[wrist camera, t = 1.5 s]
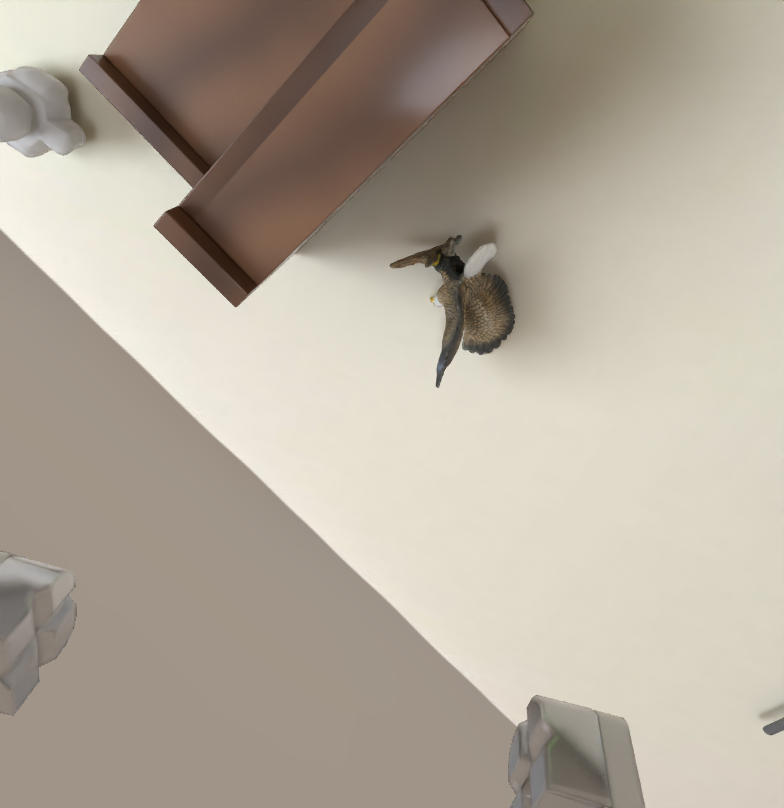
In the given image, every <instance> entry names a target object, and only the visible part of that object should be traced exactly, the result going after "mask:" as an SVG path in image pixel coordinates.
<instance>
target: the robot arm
mask: <svg viewBox="0 0 784 808" xmlns="http://www.w3.org/2000/svg"><path fill="white" fill-rule="evenodd" d="M74 588H75V576H74V572H71V571H68V570H65V569H61V568H58V567H55V566H52V565H48V564H45V563H41V562H38V561H35V560H31V559H28V558H25V557H21V556H17V555H14V554H10V553H7V552H3V551H0V713H3V714H7V715H11V716H14V715H15V713H16V712H17V710H18V709H19V708H20V706H21V705H22V704H23V702H24V701H25V700H26V699H27V697H28V696H29V694H30V693H31V692H32V691H33V689H34V688H35V687H36V685H37V684H38V682H39V667H41V666H43V665H45V664H47V663H49V662H51V661H53V660H55V659H56V658H57V657H58V655H59V654H60V653H61V651H62V650H63V648H64V647H65V646H66V644H67V642H68V640H69V637H70V635H71V633H72V631H73V629H74V625H75V621H76V616H77V607H76V603H75V602H74V601H73V600H72V598H71V597H70V596H69V594H70V593H71V591H72V590H73V589H74ZM508 781H509V783H510V785H511V787H512V789H513V790H514V792H515V794H516V797H515V799H514V801H513V802H512V804H511V806H510V808H645V803H644V798H643V793H642V789H641V784H640V779H639V774H638V769H637V765H636V760H635V755H634V750H633V746H632V741H631V736H630V731H629V727H628V724H627V722H626V721H625V719H624V718H622V717H618V716H614V715H610V714H607V713H603V712H599V711H596V710H592V709H590V708H587V707H583V706H579V705H575V704H571V703H567V702H563V701H559V700H555V699H551V698H547V697H543V696H539V695H535V696H534V697H533V698H532V699H531V701H530V703H529V705H528V707H527V720H526V721H524V722H522V723H519V724H518V727H517V729H516V731H515V733H514V736H513V739H512V744H511V748H510V753H509V764H508Z"/></svg>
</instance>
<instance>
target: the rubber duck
mask: <svg viewBox="0 0 784 808" xmlns="http://www.w3.org/2000/svg"><path fill="white" fill-rule="evenodd" d="M85 141H86V136H85V133H84V131H83V129H82V128H81V127H80V126H79V125H78V124H77V123H75V122H74V121H72V120H71V108H70V104H69V102H68V90H67V88H66V86H65V85H64V84H63V83H62V82H61V81H59V80H58V79H56V78H55V77H54V76H52V75H51V74H49V73H48V72H46V71H44V70H42V69H39V68H34V67H19V68H17V69H15V70H8V71H4V72H0V142H6V143H7V144H8V145H10V146H11V147H13V148H14V149H16V150H17V151H19V152H20V153H22V154H23V155H25V156H27V157H36V156H40V155H43V154H45V153H47V152H48V151H50V150H54V151H55V152H57V153H58V154H60V155H67V154H69V153H70V152H72V151H73V149H75V148H80V147H83V146H84V144H85Z"/></svg>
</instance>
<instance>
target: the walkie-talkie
mask: <svg viewBox="0 0 784 808" xmlns="http://www.w3.org/2000/svg"><path fill="white" fill-rule="evenodd" d="M763 730H764V732H765V733H766V734H768V735H773V734H776V733H778V732H780V731H783V730H784V718H782V719H780V720H778V721H775V722H773V723H771V724H769V725H767V726H764V727H763Z"/></svg>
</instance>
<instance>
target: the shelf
mask: <svg viewBox="0 0 784 808" xmlns="http://www.w3.org/2000/svg"><path fill="white" fill-rule="evenodd" d="M533 14H534V13H533V11H532V10H531V8H530V7H529V5H528V4H527V3H526V1H525V0H140V2H139V3H138V5H137V6H136V8H135V9H134V11H133V12H132V13H131V15H130V16H129V18H128V19H127V21H126V22H125V24H124V25H123V27H122V28H121V29H120V31H119V32H118V34H117V35H116V37H115V38H114V40H113V41H112V43H111V44H110V46H109V47H108V48H107V50H106V51H105V53H104V55H88V57H87V58H86V60H85V61H84V63H83V64H82V66H81V67H80V69H79V71H80V72H81V73H82V74H83V75H84V76H85V77H86V78H87V79H88V80H89V81H90V82H91V83H92V84H93V85H94V86H95V87H96V88H97V89H98V90H99V91H100V92H101V93H102V95H103V96H104V97H105V98H106V99H107V100H108V101H109V102H110V103H111V104H112V105H113V106H114V107H115V108H116V109H117V110H118V111H119V112H120V113H121V114H122V115H123V116H124V117H125V118H126V119H127V120H128V121H129V122H130V123H131V124H132V126H133V127H134V128H135V129H136V130H137V131H138V132H139V133H140V134H141V135H142V136H143V137H144V138H145V139H146V140H147V141H148V142H149V143H150V144H151V145H152V146H153V147H154V148H155V149H156V150H157V151H158V152H159V153H160V154H161V155H162V157H163V158H164V159H165V160H166V161H167V162H168V163H169V164H170V165H171V166H172V167H173V168H174V169H175V170H176V171H177V172H178V173H179V174H180V175H181V176H182V177H183V178H184V179H185V180H186V181H187V182H188V183H189V184H190V185H191V186H192V188H193V189H192V190H191V191H190V192H189V194H188V195H187V196H186V197H185V198H184V199H183V201H182V202H181V203H180V204H179V206H177V207H175V208H172V209H170V210H168V211H166V212H165V213H164V214H163V215H162V216H161V217H160V218H159V220H158V221H157V222H156V223H155V224H154V227H155V228H156V229H157V230H158V231H159V232H160V233H161V234H162V235H163V236H164V237H165V238H166V239H167V240H168V241H169V242H170V243H171V244H172V245H173V246H174V247H175V248H176V249H177V250H178V251H179V252H180V253H181V254H182V255H183V256H184V257H185V258H186V259H187V260H188V261H189V262H190V263H191V264H192V265H193V266H194V267H195V268H196V269H197V270H198V271H199V272H200V273H201V274H202V275H203V276H204V277H205V278H206V279H207V280H208V281H209V282H210V283H211V284H212V285H213V286H214V287H215V288H216V289H217V290H218V291H219V292H220V293H221V294H222V295H223V296H224V297H225V298H226V299H227V300H228V301H229V302H230V303H231V304H232V305H234V306H235V307H237V306H238V305H240V304H241V303H242V302H243V301H244V300H245V299H246V298H247V297H248V296H249V295H250V294H251V293H252V292H254V291H255V290H256V289H257V288H258V287H259V286H260V285H261V284H262V283H263V282H264V281H265V280H267V279H268V278H269V277H270V276H271V275H272V274H273V273H274V272H275V271H276V270H277V269H278V268H279V267H281V266H282V265H283V264H284V263H285V262H286V261H287V260H288V259H289V258H290V257H291V256H292V255H294V254H295V253H296V252H297V251H298V250H299V249H300V248H301V247H302V246H303V245H304V244H305V243H306V242H307V241H308V240H309V239H310V238H311V237H312V236H313V235H314V234H315V233H316V232H317V231H318V230H319V229H320V228H321V227H322V226H323V225H324V224H325V223H326V222H327V221H328V220H329V219H330V218H331V217H332V216H333V215H334V214H335V213H336V212H337V211H338V210H339V209H340V208H341V207H342V206H343V205H344V204H345V203H346V202H347V201H348V200H350V199H351V198H352V197H353V196H354V195H355V194H356V193H357V192H358V191H359V190H360V189H361V188H362V187H363V186H364V185H365V184H366V183H367V182H368V181H369V180H370V179H371V178H372V177H373V176H374V175H375V174H376V173H377V172H378V171H379V170H380V169H381V168H382V167H383V166H384V165H385V164H386V163H387V162H388V161H389V160H390V159H391V158H392V157H393V156H394V155H395V154H396V153H397V152H398V151H399V150H400V149H401V148H402V147H403V146H404V145H405V144H406V143H407V142H408V141H409V140H411V139H412V138H413V137H414V136H415V135H416V134H417V133H418V132H419V131H420V130H421V129H422V128H423V127H424V126H425V125H426V124H427V123H428V122H429V121H430V120H431V119H432V118H433V117H434V116H435V115H436V114H437V113H438V112H439V111H440V110H441V109H442V108H443V107H444V106H445V105H446V104H447V103H448V102H449V101H450V100H451V99H452V98H453V97H454V96H455V95H456V94H457V93H458V92H459V91H460V90H461V89H462V88H463V87H464V86H465V85H466V84H467V83H468V82H469V81H471V80H472V79H473V78H474V77H475V76H476V75H477V74H478V73H479V72H480V71H481V70H482V69H483V68H484V67H485V66H486V65H487V64H488V63H489V62H490V61H491V60H492V59H493V58H494V57H495V56H496V55H497V54H498V53H499V52H500V51H501V50H502V49H503V48H504V47H505V46H506V45H507V44H508V43H509V42H510V41H511V40H512V39H513V38H514V37H515V36H516V35H517V34H518V33H519V32H520V31H521V30H522V29H523V28H524V27H525V26H526V24H527V23H528V21H529V20H530V18H531V17H532V15H533Z"/></svg>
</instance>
